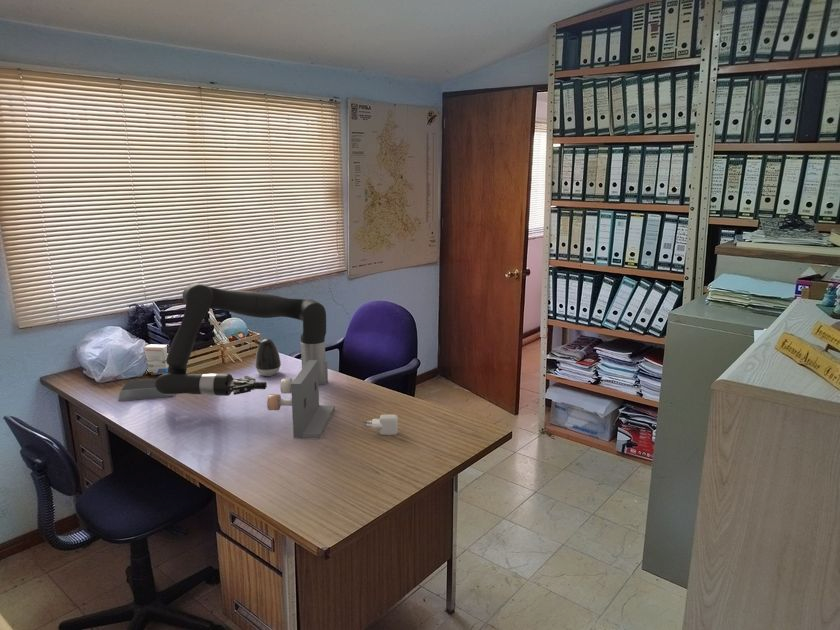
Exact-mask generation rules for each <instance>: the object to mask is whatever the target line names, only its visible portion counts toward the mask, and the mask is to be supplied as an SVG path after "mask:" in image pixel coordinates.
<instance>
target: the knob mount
mask: <svg viewBox="0 0 840 630" xmlns="http://www.w3.org/2000/svg"><path fill="white" fill-rule="evenodd" d="M319 387H320V386H318V360H309V361H308V362H307V363H306V365H305V366H304V367H303V369H302V368H301V370H300V372H299V373H298V374H297V375H296V377H294V379H293V382H292V383H291V393H290V394H291V400H292V406H291V411H292V412H291V413H292V414H291V415H292V432H293V433H292V434H293V439H309V438H315V440H317V439H318V440H319V439H322V436H323V434H324V432H325V430H326V428H327V426H328V424H329V422H330V420H331V418H332V416H333V414H334V413H335V410H336V407H335V405H329V404H324V405H323V404H321V405H320V394H319V393H320V391H319V389H320V388H319ZM316 438H317V439H316Z"/></svg>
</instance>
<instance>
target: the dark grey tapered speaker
mask: <svg viewBox="0 0 840 630" xmlns="http://www.w3.org/2000/svg"><path fill="white" fill-rule="evenodd" d="M253 342H254V343H255V344H256V345H258V347H257V349H256V350H257V351H256V354H255V364H254V365H255V366H254V367H255V368H256V371H257V373H258V374H259V375H260V376H263V377H271V376H274V375H275V376H276V374H277V373H278V372H279V371H280V367H281V365H282V361H281V356H280V353H279V349H278V348H277V346H276V343H275V342H274V341H273V339H271V338H264V339H262V340H261V341H259V340H256V339H255V340H254V341H253Z"/></svg>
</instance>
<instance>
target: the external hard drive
mask: <svg viewBox="0 0 840 630" xmlns="http://www.w3.org/2000/svg"><path fill="white" fill-rule="evenodd" d="M156 379H157V378H149V379H139V380H132V381H126V382H125V383H124V385H123V387H122V389H121V390H120V392H119V396H118V401H134V400H135V401H137V399H138V400H148V399H159V398H167V397H169V398H170V397H175V396H176V395H177V394H162V393H160V392H159V391H158V390H157V389H156V387H155V381H156Z"/></svg>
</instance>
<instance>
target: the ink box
mask: <svg viewBox="0 0 840 630" xmlns="http://www.w3.org/2000/svg"><path fill="white" fill-rule="evenodd" d="M167 345H168V344H157V343H156V344H154V343H153V344H152V343H150V344H147V345H145V346H143V352H145V354H144V356H145V355H146V358H147V363H148V369H147V371H148V372H153V373H167V372H168V367H169V365H168V364H167V362H166V360H167V356H168V353H167ZM147 371H146V372H147Z"/></svg>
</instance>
